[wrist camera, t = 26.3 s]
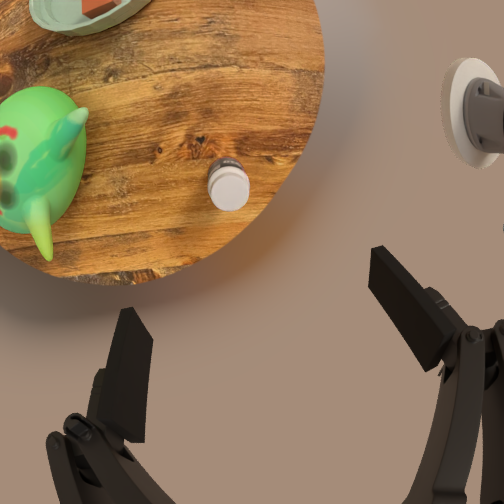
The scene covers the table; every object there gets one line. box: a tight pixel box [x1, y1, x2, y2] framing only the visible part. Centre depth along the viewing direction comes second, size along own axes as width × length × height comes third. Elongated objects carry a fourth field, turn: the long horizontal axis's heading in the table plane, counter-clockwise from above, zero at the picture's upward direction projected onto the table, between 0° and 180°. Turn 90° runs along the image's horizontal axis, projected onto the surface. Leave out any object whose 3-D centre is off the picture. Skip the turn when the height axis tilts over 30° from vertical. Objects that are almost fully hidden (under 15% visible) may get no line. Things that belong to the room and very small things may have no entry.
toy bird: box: [0, 86, 89, 261], centre depth 22 cm, size 18×17×15 cm
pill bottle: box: [208, 157, 250, 211], centre depth 31 cm, size 5×5×8 cm
